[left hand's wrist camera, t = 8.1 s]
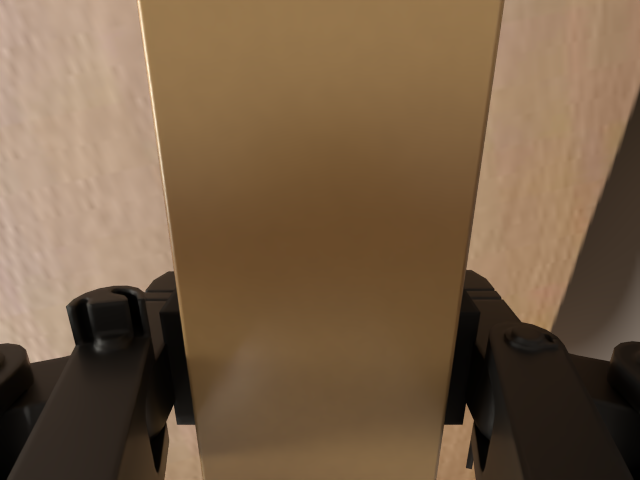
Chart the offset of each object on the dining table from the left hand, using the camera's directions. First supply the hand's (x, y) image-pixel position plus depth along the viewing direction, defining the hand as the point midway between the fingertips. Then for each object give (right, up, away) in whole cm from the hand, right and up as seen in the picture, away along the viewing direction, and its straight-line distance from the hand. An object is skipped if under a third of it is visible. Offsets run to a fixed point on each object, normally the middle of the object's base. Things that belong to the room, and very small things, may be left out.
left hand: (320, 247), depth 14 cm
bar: (0, +8, -2) cm, 8 cm away
